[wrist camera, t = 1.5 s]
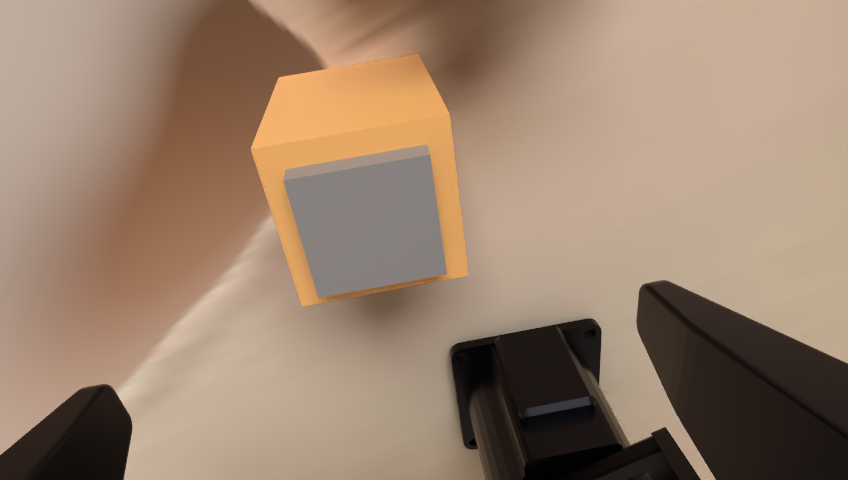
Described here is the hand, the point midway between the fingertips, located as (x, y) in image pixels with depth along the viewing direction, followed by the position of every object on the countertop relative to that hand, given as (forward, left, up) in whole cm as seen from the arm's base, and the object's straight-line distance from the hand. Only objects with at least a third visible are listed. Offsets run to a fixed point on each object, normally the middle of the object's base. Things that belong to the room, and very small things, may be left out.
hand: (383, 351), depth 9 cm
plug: (0, 0, -11) cm, 11 cm away
